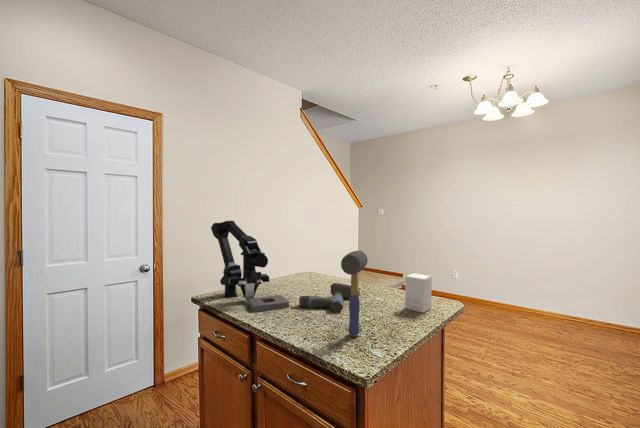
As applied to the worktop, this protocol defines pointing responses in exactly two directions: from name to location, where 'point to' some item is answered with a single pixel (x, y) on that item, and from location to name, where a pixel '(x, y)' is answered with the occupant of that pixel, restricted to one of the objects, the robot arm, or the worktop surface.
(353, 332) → the rubber mallet
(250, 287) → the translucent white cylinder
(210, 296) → the worktop surface
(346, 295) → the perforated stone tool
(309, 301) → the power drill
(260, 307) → the grey slab with hole
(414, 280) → the supplement box
